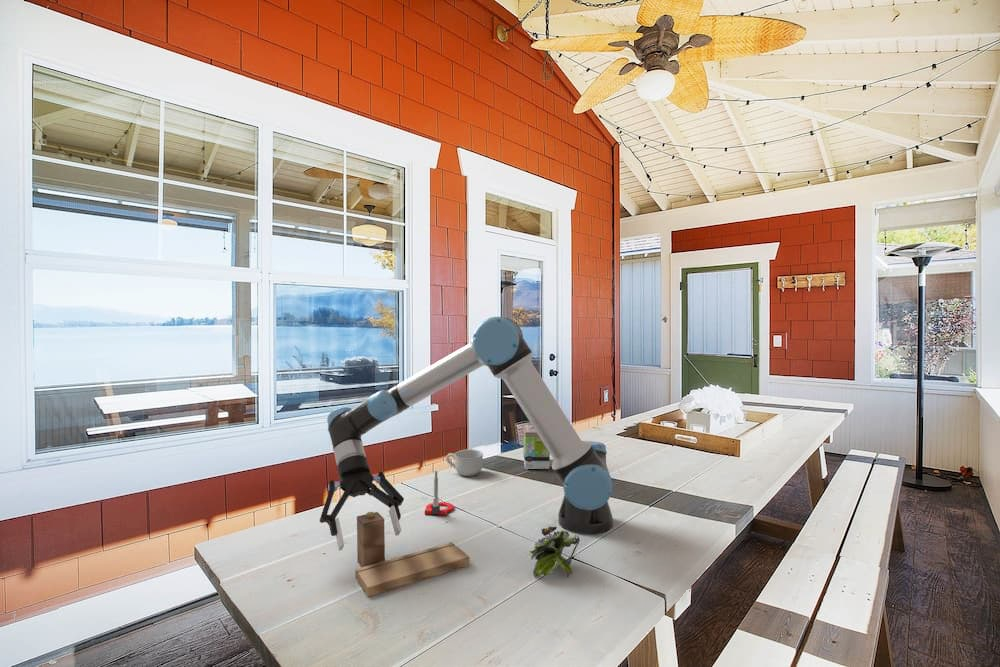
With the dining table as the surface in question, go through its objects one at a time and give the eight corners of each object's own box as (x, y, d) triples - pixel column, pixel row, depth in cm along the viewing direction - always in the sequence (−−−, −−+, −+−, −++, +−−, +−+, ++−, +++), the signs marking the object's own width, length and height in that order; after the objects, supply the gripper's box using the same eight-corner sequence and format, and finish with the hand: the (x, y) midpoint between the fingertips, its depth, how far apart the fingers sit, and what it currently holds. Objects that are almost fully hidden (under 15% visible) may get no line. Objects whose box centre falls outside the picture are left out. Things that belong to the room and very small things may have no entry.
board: (451, 550, 121) (451, 541, 121) (469, 564, 113) (469, 556, 113) (355, 577, 108) (355, 568, 108) (368, 596, 101) (367, 586, 100)
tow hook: (430, 505, 153) (421, 515, 144) (430, 463, 153) (421, 471, 144) (456, 506, 151) (448, 516, 142) (456, 465, 152) (449, 472, 143)
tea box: (550, 470, 186) (550, 432, 186) (524, 470, 187) (524, 432, 186) (547, 459, 201) (547, 423, 201) (523, 459, 202) (522, 424, 201)
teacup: (487, 471, 186) (487, 450, 186) (476, 479, 176) (476, 457, 175) (454, 467, 190) (453, 447, 190) (442, 476, 180) (441, 454, 180)
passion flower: (549, 585, 114) (564, 534, 120) (582, 597, 106) (596, 541, 111) (514, 568, 110) (532, 516, 115) (546, 579, 101) (563, 523, 106)
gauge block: (378, 556, 118) (377, 507, 118) (384, 565, 114) (384, 514, 114) (357, 562, 115) (356, 512, 115) (363, 571, 111) (363, 519, 111)
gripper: (394, 461, 135) (416, 534, 123) (298, 477, 122) (313, 561, 109) (400, 446, 131) (424, 520, 118) (302, 461, 117) (318, 547, 105)
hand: (371, 540), depth 114 cm, fingers open, 13 cm apart
